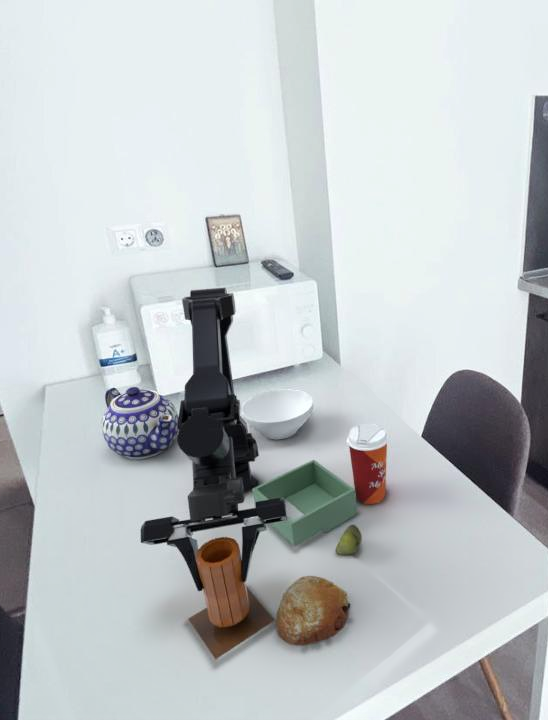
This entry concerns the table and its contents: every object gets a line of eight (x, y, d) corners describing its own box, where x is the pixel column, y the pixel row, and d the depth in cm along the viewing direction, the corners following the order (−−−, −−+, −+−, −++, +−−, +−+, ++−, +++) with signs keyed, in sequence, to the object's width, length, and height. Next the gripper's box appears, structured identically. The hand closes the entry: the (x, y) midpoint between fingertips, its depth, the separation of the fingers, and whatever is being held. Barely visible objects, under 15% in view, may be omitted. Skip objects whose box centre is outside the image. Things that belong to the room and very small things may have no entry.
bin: (256, 513, 100) (252, 488, 98) (316, 483, 109) (313, 459, 106) (294, 550, 92) (291, 524, 89) (356, 514, 100) (355, 489, 98)
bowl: (329, 425, 129) (327, 399, 126) (280, 457, 117) (277, 429, 114) (281, 408, 137) (278, 383, 134) (230, 437, 125) (226, 410, 122)
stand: (188, 623, 78) (181, 595, 76) (246, 589, 84) (241, 562, 82) (216, 665, 72) (209, 635, 70) (276, 625, 78) (271, 596, 76)
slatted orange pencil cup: (203, 610, 77) (189, 550, 73) (238, 589, 81) (227, 531, 76) (220, 634, 74) (206, 573, 69) (256, 611, 77) (245, 551, 73)
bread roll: (297, 610, 85) (269, 577, 81) (356, 585, 83) (330, 550, 80) (289, 669, 76) (257, 634, 72) (355, 641, 74) (325, 605, 71)
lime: (336, 563, 89) (334, 539, 87) (335, 542, 93) (332, 519, 91) (364, 559, 90) (362, 535, 88) (360, 538, 94) (359, 515, 92)
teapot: (86, 443, 123) (68, 384, 117) (150, 416, 134) (136, 361, 128) (143, 484, 109) (126, 419, 103) (209, 450, 120) (197, 390, 114)
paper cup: (384, 510, 101) (382, 446, 95) (345, 505, 102) (340, 441, 96) (394, 485, 108) (393, 423, 102) (357, 480, 109) (353, 419, 103)
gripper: (127, 472, 69) (129, 604, 64) (277, 449, 74) (291, 571, 68) (150, 486, 79) (153, 601, 74) (281, 465, 84) (293, 572, 78)
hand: (222, 586), depth 73 cm, fingers closed on slatted orange pencil cup, 5 cm apart
